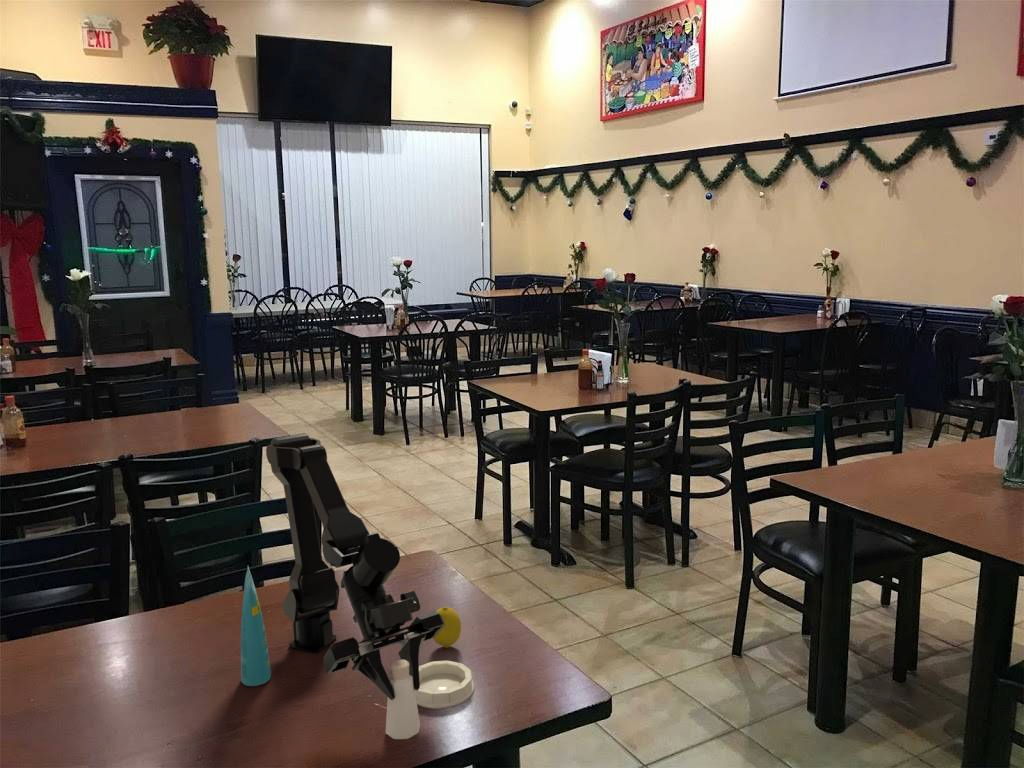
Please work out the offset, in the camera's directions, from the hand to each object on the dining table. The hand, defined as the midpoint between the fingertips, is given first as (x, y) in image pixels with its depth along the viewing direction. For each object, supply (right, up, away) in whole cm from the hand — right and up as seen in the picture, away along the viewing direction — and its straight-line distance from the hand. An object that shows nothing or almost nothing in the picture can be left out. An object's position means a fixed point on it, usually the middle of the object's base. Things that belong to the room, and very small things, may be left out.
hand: (405, 694), depth 122 cm
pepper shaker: (-1, -7, +2) cm, 7 cm away
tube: (-28, -4, +17) cm, 33 cm away
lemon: (+4, -2, +27) cm, 28 cm away
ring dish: (+4, -4, +13) cm, 14 cm away
